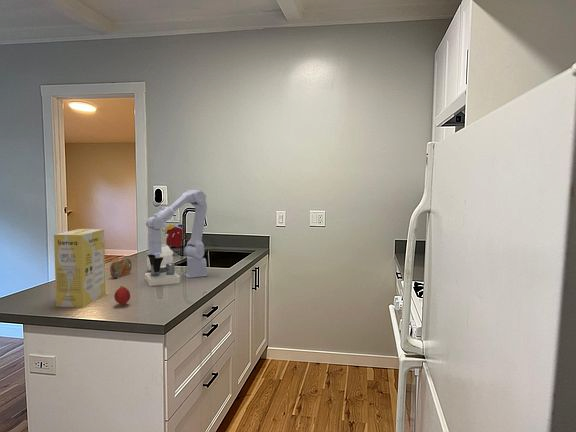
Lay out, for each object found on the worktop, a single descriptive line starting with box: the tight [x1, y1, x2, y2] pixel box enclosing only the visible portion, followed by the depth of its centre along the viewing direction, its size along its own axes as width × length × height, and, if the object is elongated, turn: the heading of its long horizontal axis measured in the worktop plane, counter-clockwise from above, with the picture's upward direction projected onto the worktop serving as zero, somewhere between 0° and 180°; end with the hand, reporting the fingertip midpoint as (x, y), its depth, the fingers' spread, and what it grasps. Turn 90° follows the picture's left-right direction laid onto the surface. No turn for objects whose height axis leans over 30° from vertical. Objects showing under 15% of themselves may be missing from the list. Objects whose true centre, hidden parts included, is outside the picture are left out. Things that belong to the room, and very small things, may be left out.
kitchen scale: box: [144, 265, 181, 287], centre depth 201 cm, size 14×15×6 cm
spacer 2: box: [166, 262, 176, 275], centre depth 201 cm, size 4×4×5 cm
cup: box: [146, 244, 174, 271], centre depth 223 cm, size 13×13×14 cm
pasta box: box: [53, 228, 107, 308], centre depth 167 cm, size 18×10×28 cm, turn 178°
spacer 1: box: [150, 264, 160, 276], centre depth 197 cm, size 4×4×5 cm
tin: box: [109, 258, 132, 279], centre depth 210 cm, size 15×3×8 cm, turn 168°
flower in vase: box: [161, 222, 174, 256], centre depth 264 cm, size 13×11×25 cm
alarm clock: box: [165, 219, 188, 249], centre depth 297 cm, size 15×9×20 cm, turn 130°
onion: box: [113, 285, 131, 307], centre depth 162 cm, size 6×6×8 cm
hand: (155, 270), depth 198 cm, fingers open, 7 cm apart
